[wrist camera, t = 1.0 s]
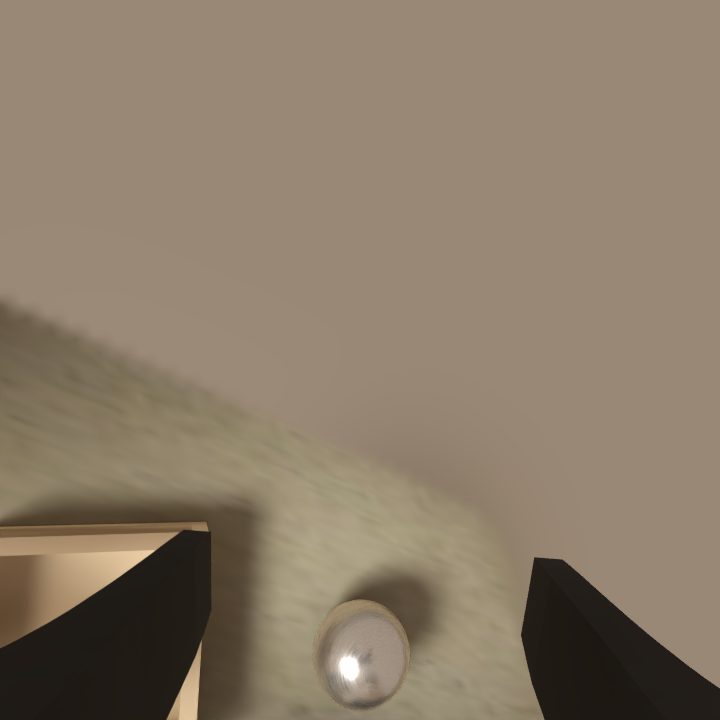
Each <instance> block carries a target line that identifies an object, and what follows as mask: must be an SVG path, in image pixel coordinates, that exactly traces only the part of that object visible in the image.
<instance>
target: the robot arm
mask: <svg viewBox="0 0 720 720" xmlns="http://www.w3.org/2000/svg"><path fill="white" fill-rule="evenodd" d="M210 612H211V532H208V531H195V530H183V531H181V532H180V533H178V534H177V535H175V536H174V537H173V538H171V539H170V540H169V541H167V542H166V543H165V544H163V545H162V546H161V547H159V548H158V549H157V550H155V551H154V552H153V553H151V554H150V555H149V556H147V557H146V558H145V559H143V560H142V561H140V562H139V563H138V564H136V565H135V566H134V567H132V568H131V569H129V570H128V571H127V572H125V573H124V574H122V575H121V576H120V577H118V578H117V579H116V580H114V581H113V582H111V583H110V584H108V585H107V586H105V587H104V588H102V589H101V590H99V591H98V592H96V593H94V594H93V595H91V596H90V597H88V598H87V599H85V600H84V601H82V602H81V603H79V604H78V605H76V606H75V607H73V608H72V609H70V610H68V611H67V612H65V613H64V614H62V615H60V616H59V617H57V618H55V619H53V620H52V621H50V622H48V623H47V624H45V625H43V626H41V627H39V628H38V629H36V630H34V631H32V632H30V633H29V634H27V635H25V636H23V637H21V638H19V639H18V640H16V641H14V642H12V643H10V644H8V645H6V646H4V647H2V648H0V720H167V718H168V716H169V713H170V711H171V709H172V707H173V705H174V703H175V701H176V698H177V696H178V694H179V692H180V690H181V688H182V685H183V683H184V681H185V679H186V677H187V675H188V672H189V670H190V668H191V666H192V664H193V661H194V659H195V657H196V655H197V652H198V649H199V646H200V643H201V640H202V637H203V634H204V631H205V628H206V625H207V621H208V618H209V615H210ZM521 637H522V642H523V646H524V651H525V656H526V660H527V665H528V669H529V673H530V677H531V681H532V685H533V688H534V690H535V693H536V696H537V699H538V702H539V705H540V708H541V711H542V713H543V716H544V719H545V720H720V688H718V687H717V686H715V685H714V684H712V683H711V682H709V681H708V680H707V679H705V678H704V677H702V676H701V675H700V674H698V673H697V672H696V671H694V670H693V669H692V668H690V667H689V666H687V665H686V664H685V663H684V662H682V661H681V660H680V659H679V658H677V657H676V656H675V655H674V654H672V653H671V652H670V651H669V650H667V649H666V648H665V647H663V646H662V645H661V644H660V643H658V642H657V641H656V640H655V639H653V638H652V637H651V636H650V635H649V634H647V633H646V632H645V631H644V630H643V629H641V628H640V627H639V626H638V625H637V624H635V623H634V622H633V621H632V620H630V618H628V617H627V616H626V615H625V614H624V613H623V612H622V611H620V610H619V609H618V608H617V607H616V606H615V605H614V604H612V603H611V602H610V601H609V600H608V599H607V598H606V597H605V596H604V595H602V594H601V593H600V592H599V591H598V590H597V589H596V588H594V587H593V586H592V585H591V584H590V583H589V582H588V581H587V580H586V579H585V578H583V577H582V576H581V575H580V574H579V573H578V572H576V571H575V570H574V569H573V568H572V567H571V566H570V565H568V564H567V563H566V562H565V561H563V560H560V559H548V558H534V563H533V569H532V575H531V581H530V586H529V593H528V598H527V604H526V610H525V615H524V621H523V627H522V633H521Z"/></svg>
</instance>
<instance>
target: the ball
mask: <svg viewBox="0 0 720 720" xmlns="http://www.w3.org/2000/svg"><path fill="white" fill-rule="evenodd" d="M409 662H410V648H409V642H408V638H407V635H406V632H405V630H404V628H403V626H402V624H401V622H400V621H399V619H398V618H397V617H396V616H395V615H394V613H392V612H391V611H390V610H389V609H388V608H386V607H385V606H383V605H381V604H379V603H377V602H374V601H371V600H364V599H358V600H352V601H348V602H345V603H343V604H341V605H339V606H337V607H336V608H335V609H333V610H332V611H331V612H330V613H329V614H328V615H327V616H326V617H325V619H324V620H323V621H322V623H321V625H320V626H319V628H318V631H317V633H316V636H315V639H314V644H313V666H314V671H315V674H316V677H317V679H318V682H319V684H320V686H321V687H322V689H323V690H324V692H325V693H326V694H327V695H328V696H329V697H330V698H331V699H332V700H333V701H334V702H336V703H337V704H339V705H340V706H342V707H345V708H347V709H351V710H355V711H367V710H372V709H375V708H378V707H380V706H382V705H384V704H386V703H387V702H388V701H390V700H391V699H392V698H393V697H394V696H395V695H396V694H397V692H398V691H399V690H400V688H401V687H402V685H403V683H404V681H405V678H406V676H407V672H408V668H409Z"/></svg>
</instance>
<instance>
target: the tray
mask: <svg viewBox="0 0 720 720" xmlns="http://www.w3.org/2000/svg"><path fill="white" fill-rule="evenodd" d="M183 530H195V531H208V527H207V523H206V522H170V523H130V524H91V525H51V526H12V527H0V648H2V647H4V646H6V645H8V644H10V643H12V642H14V641H16V640H18V639H19V638H21V637H23V636H25V635H27V634H29V633H30V632H32V631H34V630H36V629H38V628H39V627H41V626H43V625H45V624H47V623H48V622H50V621H52V620H53V619H55V618H57V617H59V616H60V615H62V614H64V613H65V612H67V611H68V610H70V609H72V608H73V607H75V606H76V605H78V604H79V603H81V602H82V601H84V600H85V599H87V598H88V597H90V596H91V595H93V594H94V593H96V592H98V591H99V590H101V589H102V588H104V587H105V586H107V585H108V584H110V583H111V582H113V581H114V580H116V579H117V578H118V577H120V576H121V575H122V574H124V573H125V572H127V571H128V570H129V569H131V568H132V567H134V566H135V565H136V564H138V563H139V562H140V561H142V560H143V559H145V558H146V557H147V556H149V555H150V554H151V553H153V552H154V551H155V550H157V549H158V548H159V547H161V546H162V545H163V544H165V543H166V542H167V541H169V540H170V539H171V538H173V537H174V536H175V535H177V534H178V533H180V532H181V531H183ZM201 644H202V640H201V643H200V646H199V649H198V652H197V655H196V657H195V659H194V661H193V664H192V666H191V668H190V670H189V672H188V675H187V677H186V679H185V681H184V683H183V685H182V688H181V690H180V692H179V694H178V696H177V698H176V701H175V703H174V705H173V707H172V709H171V711H170V713H169V716H168V718H167V720H197V709H198V693H199V676H200V660H201Z"/></svg>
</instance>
